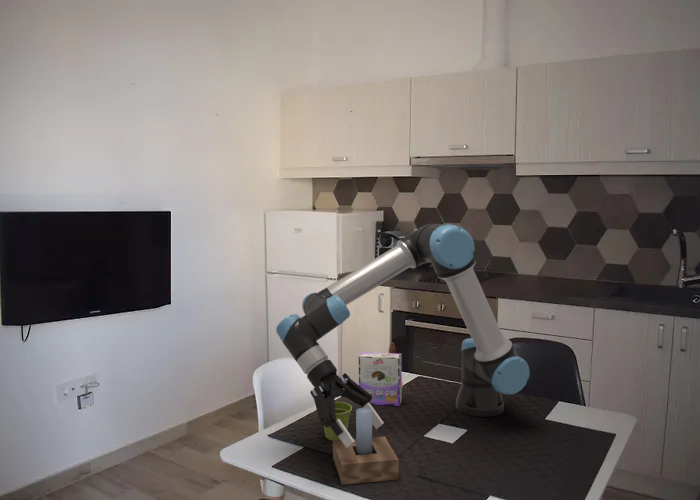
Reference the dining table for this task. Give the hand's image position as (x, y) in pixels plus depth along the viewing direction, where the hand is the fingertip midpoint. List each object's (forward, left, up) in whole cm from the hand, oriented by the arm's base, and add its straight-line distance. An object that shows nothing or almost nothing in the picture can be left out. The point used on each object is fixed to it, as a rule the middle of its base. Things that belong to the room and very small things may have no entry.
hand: (366, 435), depth 147 cm
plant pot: (+4, -22, -9) cm, 24 cm away
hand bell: (-23, -63, -9) cm, 67 cm away
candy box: (-15, -47, -9) cm, 50 cm away
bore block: (0, -1, -9) cm, 9 cm away
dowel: (0, -1, -8) cm, 8 cm away
